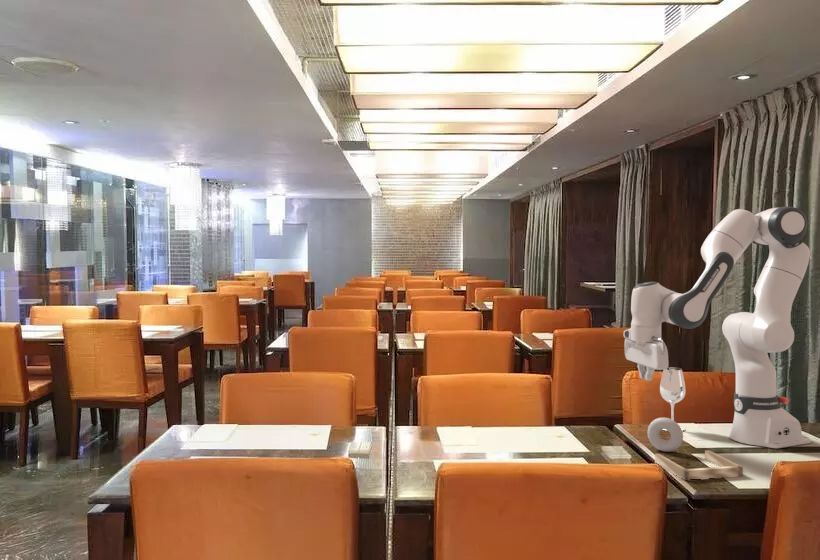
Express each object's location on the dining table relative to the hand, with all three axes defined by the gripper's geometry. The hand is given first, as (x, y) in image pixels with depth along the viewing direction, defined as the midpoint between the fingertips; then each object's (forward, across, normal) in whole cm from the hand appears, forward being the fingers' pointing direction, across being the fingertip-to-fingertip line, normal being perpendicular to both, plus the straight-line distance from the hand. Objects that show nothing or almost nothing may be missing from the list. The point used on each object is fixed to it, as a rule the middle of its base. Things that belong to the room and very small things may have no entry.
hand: (645, 379), depth 201 cm
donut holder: (+19, -27, 0) cm, 33 cm away
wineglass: (+19, +10, -15) cm, 26 cm away
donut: (+19, -11, 0) cm, 22 cm away
